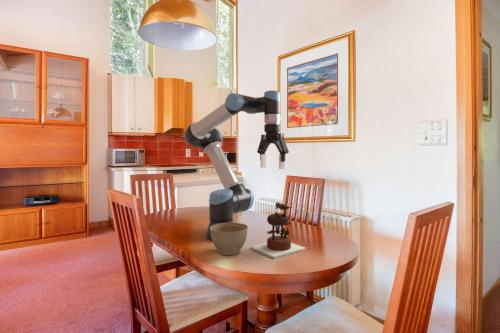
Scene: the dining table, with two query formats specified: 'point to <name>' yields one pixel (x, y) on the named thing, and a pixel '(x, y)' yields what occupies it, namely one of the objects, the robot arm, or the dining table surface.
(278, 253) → the board
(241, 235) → the planter bowl
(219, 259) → the dining table surface
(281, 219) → the music box
